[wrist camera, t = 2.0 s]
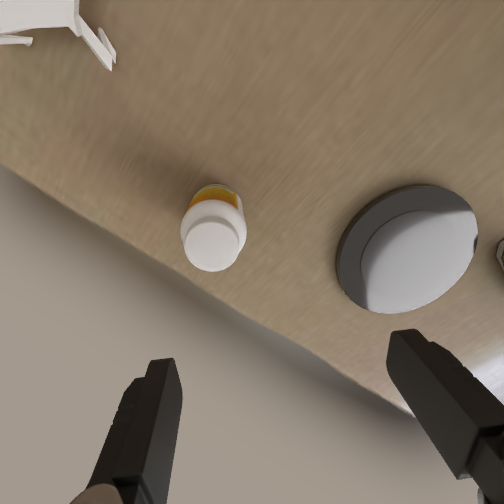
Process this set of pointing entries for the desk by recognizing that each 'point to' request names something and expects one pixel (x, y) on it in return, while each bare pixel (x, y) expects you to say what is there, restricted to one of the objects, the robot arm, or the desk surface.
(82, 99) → the desk surface
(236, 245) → the supplement bottle
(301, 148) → the desk surface
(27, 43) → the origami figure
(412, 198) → the plate
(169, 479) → the robot arm
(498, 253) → the toy tank
